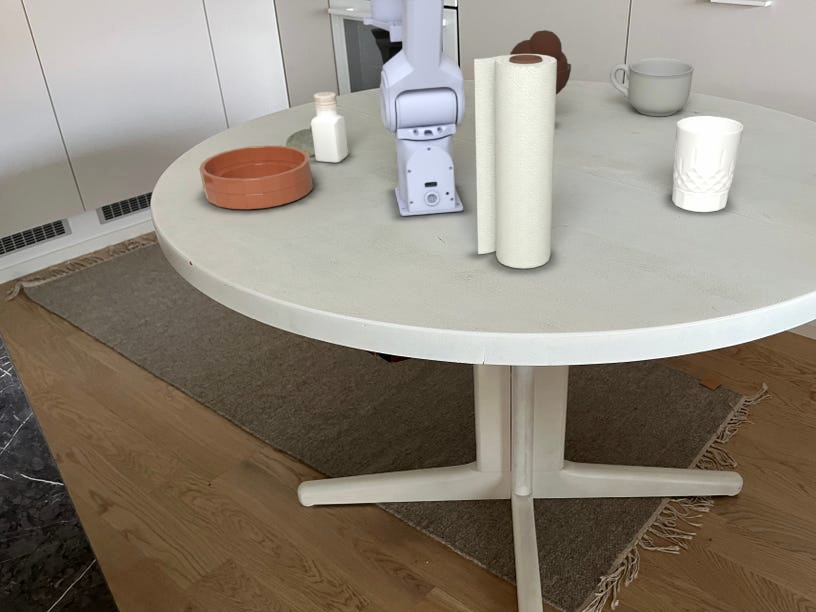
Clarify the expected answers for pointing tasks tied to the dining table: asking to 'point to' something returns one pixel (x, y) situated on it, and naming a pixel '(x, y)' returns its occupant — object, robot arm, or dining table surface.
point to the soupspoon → (302, 141)
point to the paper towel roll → (515, 156)
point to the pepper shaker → (328, 129)
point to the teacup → (656, 84)
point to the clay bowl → (256, 177)
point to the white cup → (705, 162)
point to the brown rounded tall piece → (547, 53)
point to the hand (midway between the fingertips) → (397, 85)
